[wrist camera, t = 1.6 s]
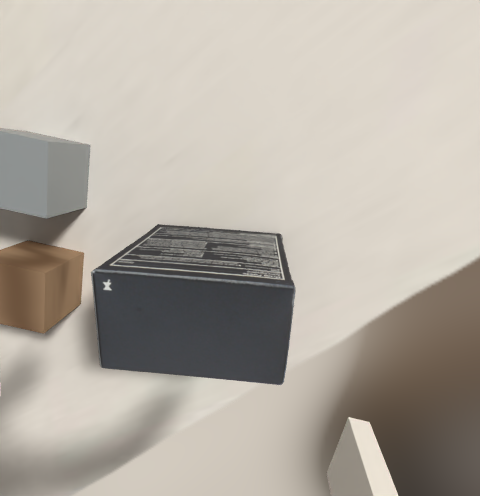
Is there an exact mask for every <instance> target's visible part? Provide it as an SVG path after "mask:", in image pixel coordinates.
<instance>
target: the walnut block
mask: <svg viewBox="0 0 480 496" xmlns="http://www.w3.org/2000/svg"><path fill="white" fill-rule="evenodd" d="M83 259H84V253H83V252H78V251H74V250H69V249H65V248H60V247H56V246H51V245H47V244H42V243H37V242H33V241H28V240H27V241H24V242H22V243H19V244H16V245H13V246H10V247H7V248H4V249H2V250H0V324H4V325H8V326H13V327H17V328H22V329H26V330H31V331H35V332H39V333H45V332H46V331H48V330H49V329H50V328H51V327H53V326H54V325H55V324H56V323H58V322H59V321H60V320H61V319H63V318H64V317H65V316H66V315H68V314H69V313H70V312H71V311H73V310H74V309H75V308H76V307H78V306H79V305H80V304H81V292H82V276H83Z"/></svg>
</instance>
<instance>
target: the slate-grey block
mask: <svg viewBox="0 0 480 496" xmlns="http://www.w3.org/2000/svg"><path fill="white" fill-rule="evenodd" d="M89 158H90V145H88V144H83V143H79V142H74V141H70V140H65V139H60V138H56V137H51V136H46V135H42V134H37V133H32V132H28V131H19V130H11V129H2V128H0V209H5V210H10V211H14V212H19V213H23V214H28V215H33V216H37V217H42V218H46V219H47V218H50V217H54V216H58V215H61V214H65V213H69V212H72V211H76V210H79V209H83V208H87V192H88V175H89Z"/></svg>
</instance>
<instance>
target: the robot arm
mask: <svg viewBox="0 0 480 496" xmlns="http://www.w3.org/2000/svg"><path fill="white" fill-rule="evenodd" d="M0 396H1V384H0ZM327 476H328V481H329V486H330V492H331V496H398V494H397V491H396V489H395V486H394V483H393V481H392V478H391V476H390V473H389V471H388V468H387V466H386V463H385V461H384V458H383V455H382V453H381V450H380V448H379V446H378V443H377V440H376V438H375V435H374V433H373V430H372V428H371V425H370V423H369V422H366V421H362V420H358V419H354V418H348V420H347V422H346V425H345V428H344V430H343V433H342V435H341V438H340V441H339V443H338V446H337V449H336V451H335V453H334V456H333V459H332V461H331V464H330V466H329V469H328V472H327Z"/></svg>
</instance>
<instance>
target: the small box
mask: <svg viewBox="0 0 480 496" xmlns="http://www.w3.org/2000/svg"><path fill="white" fill-rule="evenodd" d="M91 276H92V284H93V294H94V307H95V316H96V328H97V339H98V349H99V359H100V366H101V367H102V368H108V369H119V370H129V371H140V372H152V373H163V374H174V375H184V376H194V377H205V378H216V379H226V380H237V381H246V382H256V383H266V384H277V385H282V384H283V382H284V377H285V371H286V364H287V356H288V349H289V340H290V332H291V324H292V315H293V307H294V298H295V286H294V283H293V280H292V279H291V274H290V272H289V267H288V262H287V258H286V254H285V250H284V246H283V243H282V235H281V234H273V233H262V232H249V231H240V230H223V229H211V228H200V227H188V226H187V227H186V226H170V225H159V224H158V225H157V226H155V227H154V228H153V229H152V230H150V231H149V232H148V233H147V234H145V235H144V236H142V237H141V238H139V239H138V240H137V241H135V242H134V243H133V244H130V245H129V246H128V247H126V248H125V249H124V250H122V251H120V252H119V253H118V254H116V255H115V256H113V257H112V258H111V259H109V260H108V261H106V262H105V263H104V264H102V265H101V266H99V267H98V268H96V269H94V270H93V271H92V272H91Z"/></svg>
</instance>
